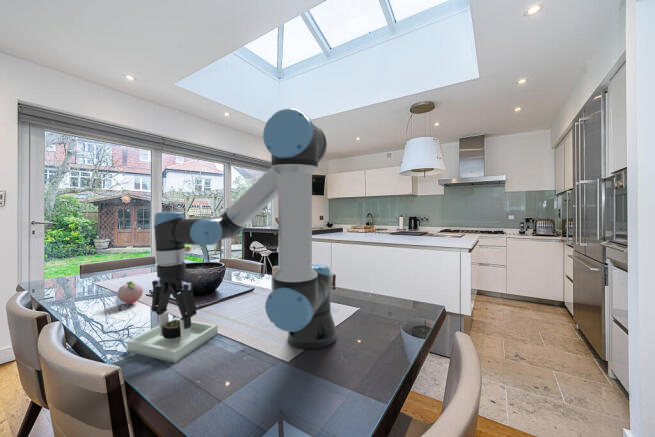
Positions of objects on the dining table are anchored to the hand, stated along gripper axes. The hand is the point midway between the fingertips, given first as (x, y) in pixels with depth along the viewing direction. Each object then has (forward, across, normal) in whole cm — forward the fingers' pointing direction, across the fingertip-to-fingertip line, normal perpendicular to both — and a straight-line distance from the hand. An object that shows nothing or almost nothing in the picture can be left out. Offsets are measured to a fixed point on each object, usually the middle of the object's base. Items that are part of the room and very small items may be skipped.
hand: (174, 335), depth 81 cm
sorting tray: (+2, 0, 0) cm, 2 cm away
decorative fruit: (+2, +44, -17) cm, 47 cm away
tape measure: (+1, 0, -1) cm, 1 cm away
